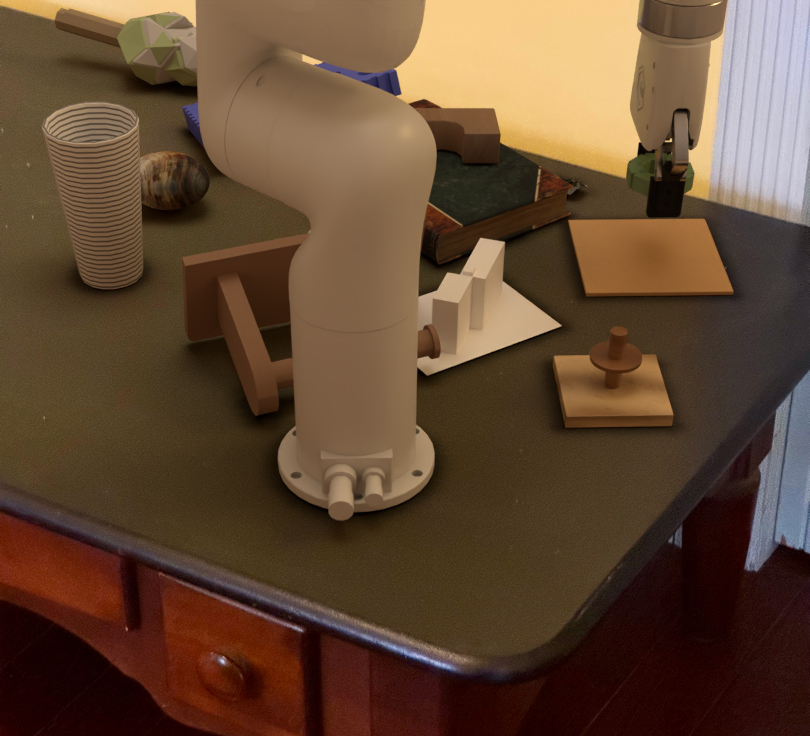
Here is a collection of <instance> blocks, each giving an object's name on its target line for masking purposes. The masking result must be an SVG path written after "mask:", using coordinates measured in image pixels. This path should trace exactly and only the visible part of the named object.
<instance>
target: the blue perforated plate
mask: <svg viewBox="0 0 810 736" xmlns="http://www.w3.org/2000/svg"><path fill="white" fill-rule="evenodd" d="M313 65H315V66H317V67H320V68H323V69H325V70H328V71H331V72H335V73H339V74H342V75H344V76H347V77H350V78H353V79H355V80H358V81H361V82H363V83H366V84H369V85H371V86H374V87H377V88H379V89H382V90H384V91H386V92H388V93H390V94H393V95H394V96H396V97H398V96H401V95H402V89H401V85H400V80H399V75H398V71H397V70H396V68H394V69H392V70H389V71H385V72H381V73H364V72H358V71H353V70H349V69H344V68H341V67H337V66H334V65H331V64H328V63H325V62H322V61H321V62H320V63H318V64H317V63H315V64H313ZM181 109H182V112H183V113H182V114H183V116H184V119H185V123H186V124H187V129H188V130H189V132H190V133H191V134H192V135H193V136H194V138H195V139H196V140H197V141H198V143H199V144H200V146H201V147H202V148H203V149H204V150H205V147H204V144H203V141H202V136H201V132H200V125H199V114H198V101H196V102H194V103H193V104H187V105H184V106H181Z"/></svg>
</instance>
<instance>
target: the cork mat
mask: <svg viewBox="0 0 810 736" xmlns="http://www.w3.org/2000/svg"><path fill="white" fill-rule="evenodd" d="M567 225H568V230H569V232H570V238H571V242H572V246H573V248H574V253H575V258H576V262H577V265H578V270H579V273H580V278H581V281H582V286H583V289H584V293H585V297H652V296H653V297H655V296H657V297H658V296H659V297H661V296H662V297H663V296H664V297H665V296H666V297H668V296H671V297H672V296H733V295H734V289H733V287H732V284H731V281H730V278H729V276H728V273H727V271H726V268H725V266H724V264H723V261H722V259H721V256H720V253H719V251H718V248H717V246H716V243H715V241H714V239H713V235H712V233H711V230H710V228H709V225H708V224H707V221H706V219H705V218H646V219H645V218H635V219H631V218H630V219H629V218H628V219H627V218H626V219H625V218H624V219H621V218H620V219H568V220H567Z"/></svg>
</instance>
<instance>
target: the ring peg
mask: <svg viewBox="0 0 810 736" xmlns="http://www.w3.org/2000/svg"><path fill="white" fill-rule="evenodd" d="M609 334H610V335H609V340H605V341H601V342H598V343H597V344H594V345H593V346H592V347H591V349H590V350H589V354H585V355H584V354H581V355H580V354H575V355H574V354H573V355H572V354H571V355H570V354H569V355H568V354H567V355H554V356H553V361H552V370H553V374H554V380H555V383H556V390H557V394H558V399H559V403H560V408H561V414H562V417H563V418H562V419H563V423H564V427H565V428H566V429H570V428H575V429H576V428H638V427H672V426H673V421H674V411H673V408H672V405H671V402H670V398H669V394H668V391H667V388H666V384H665V381H664V377H663V374H662V372H661V368H660V365H659V361H658V358H657V354H655V353H654V354H653V353H652V354H651V353H650V354H649V353H648V354H645V353H644V354H642V352H641V351H640V349H639V348H638V347H636V346H635V345H633V344H631V343H628V342H627V340H628V329H627V328H625V327H624V326H613V327H611V329H610V333H609Z"/></svg>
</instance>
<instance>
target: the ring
mask: <svg viewBox="0 0 810 736" xmlns="http://www.w3.org/2000/svg"><path fill="white" fill-rule="evenodd" d="M671 156H672V154H669V155H667V153H664V154H663V165H664V163H665V162H666V161H667V160H671V159H670V158H671ZM654 170H655V153H645V155H643V154H640V155H639V156H637V155H636V156H635V157H633V158H631V159H630V160H628V162H627V166H626V174H625V178H626V179H625V180H626V183H627V186H628V188H629V189H631V191H632V192H635V193H638V194H639V195H642V196H645V197H646V198H648V191H649V184H650V176H654ZM695 174H696V173H695V169H694V168H693V165H692V163H691V162H690V161H689V164H688V167H687V175H686V182H685V189H684V195H685V194H687V193H688V192H690V191H692V189H693V185H694V179H695Z"/></svg>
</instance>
